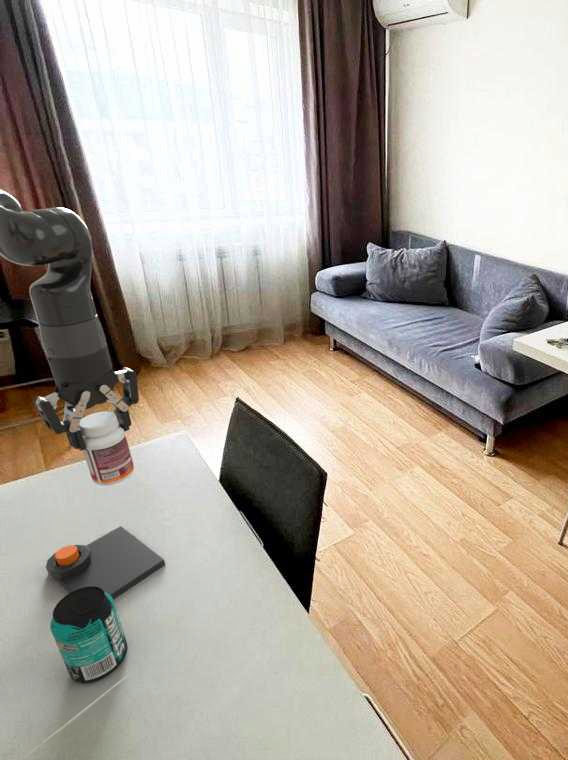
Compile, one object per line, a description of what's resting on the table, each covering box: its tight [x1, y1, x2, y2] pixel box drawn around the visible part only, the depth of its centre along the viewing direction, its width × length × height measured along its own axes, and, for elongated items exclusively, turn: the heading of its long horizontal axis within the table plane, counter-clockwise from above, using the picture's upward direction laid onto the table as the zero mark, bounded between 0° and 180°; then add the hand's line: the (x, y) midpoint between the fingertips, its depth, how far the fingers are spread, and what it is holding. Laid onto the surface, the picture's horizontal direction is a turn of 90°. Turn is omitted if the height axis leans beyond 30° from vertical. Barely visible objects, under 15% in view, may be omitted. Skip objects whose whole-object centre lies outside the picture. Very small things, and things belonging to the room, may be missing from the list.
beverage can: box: [49, 586, 129, 684], centre depth 69 cm, size 7×7×12 cm
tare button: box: [55, 544, 79, 566], centre depth 83 cm, size 3×3×2 cm
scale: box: [45, 525, 166, 601], centre depth 85 cm, size 14×12×3 cm
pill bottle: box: [78, 411, 135, 486], centre depth 82 cm, size 6×6×11 cm
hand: (103, 438), depth 81 cm, fingers closed on pill bottle, 6 cm apart
